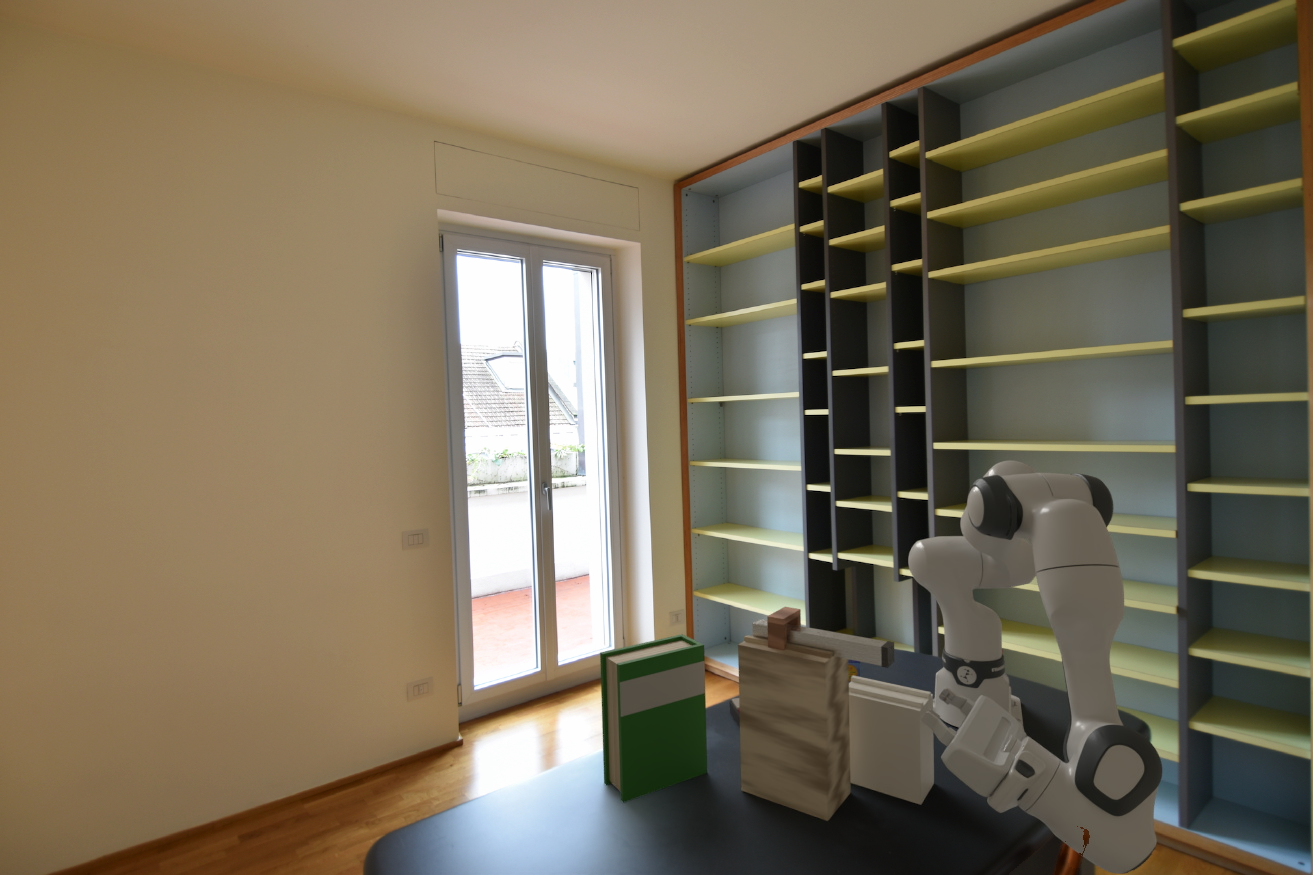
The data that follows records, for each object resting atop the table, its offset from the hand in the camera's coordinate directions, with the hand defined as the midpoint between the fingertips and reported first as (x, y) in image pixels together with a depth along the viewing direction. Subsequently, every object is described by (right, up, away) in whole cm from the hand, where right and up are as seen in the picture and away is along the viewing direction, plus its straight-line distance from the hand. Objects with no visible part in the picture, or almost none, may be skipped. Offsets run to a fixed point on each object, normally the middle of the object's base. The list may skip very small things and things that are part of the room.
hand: (933, 702), depth 104 cm
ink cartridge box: (-1, -20, +51) cm, 54 cm away
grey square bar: (-15, +5, +11) cm, 19 cm away
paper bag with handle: (-18, -21, +15) cm, 32 cm away
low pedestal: (-1, -21, +17) cm, 27 cm away
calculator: (-18, -21, +43) cm, 51 cm away
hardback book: (-43, -22, +21) cm, 52 cm away
